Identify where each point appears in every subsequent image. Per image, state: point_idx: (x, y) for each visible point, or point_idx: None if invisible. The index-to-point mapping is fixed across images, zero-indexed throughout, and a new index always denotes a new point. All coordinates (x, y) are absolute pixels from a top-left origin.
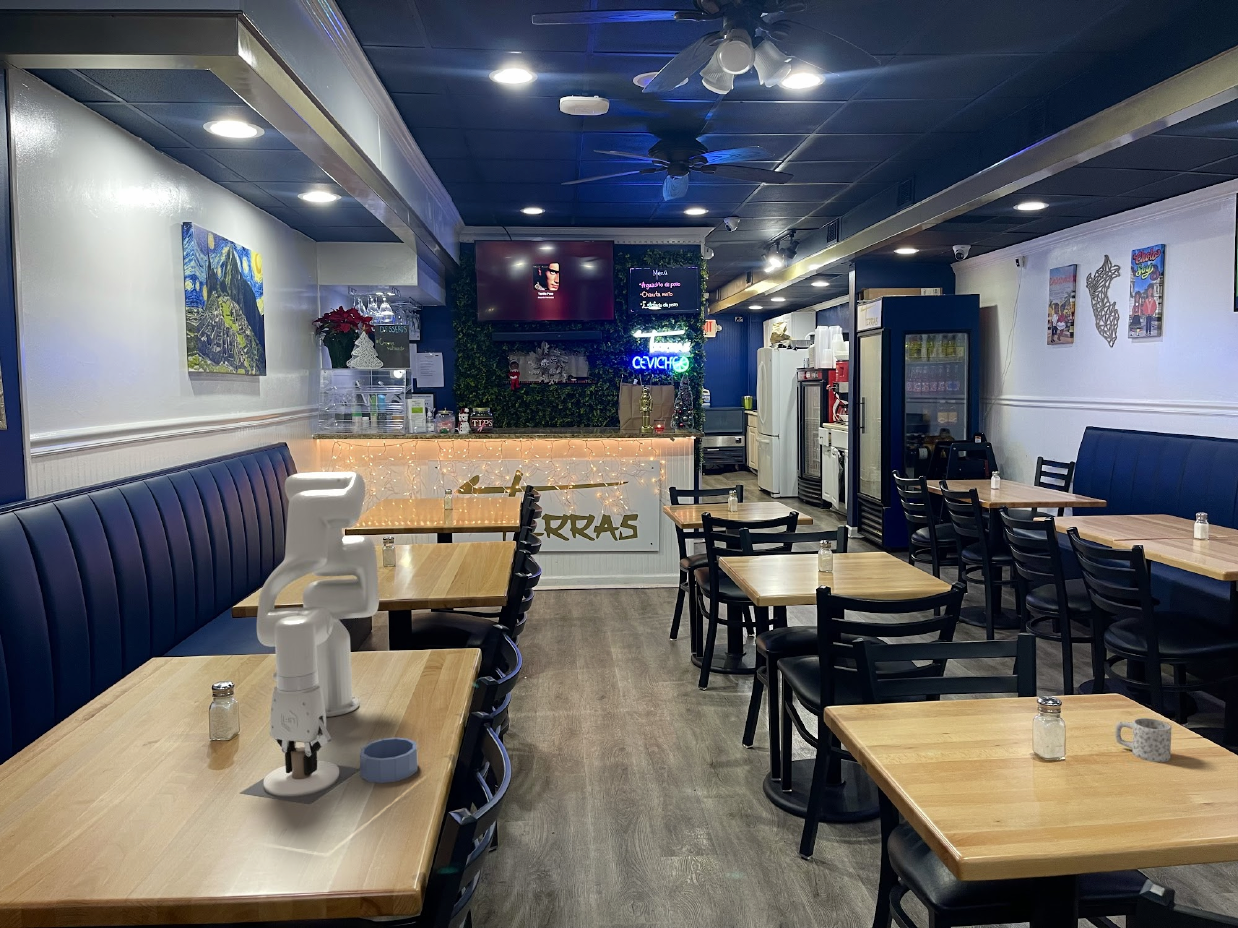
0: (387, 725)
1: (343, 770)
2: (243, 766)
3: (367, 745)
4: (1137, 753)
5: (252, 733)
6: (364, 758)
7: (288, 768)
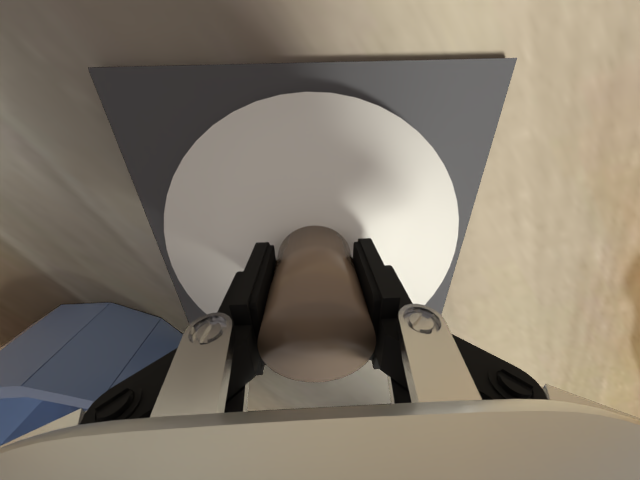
0: None
1: None
2: (582, 275)
3: None
4: None
5: (613, 402)
6: (49, 383)
7: (360, 249)
